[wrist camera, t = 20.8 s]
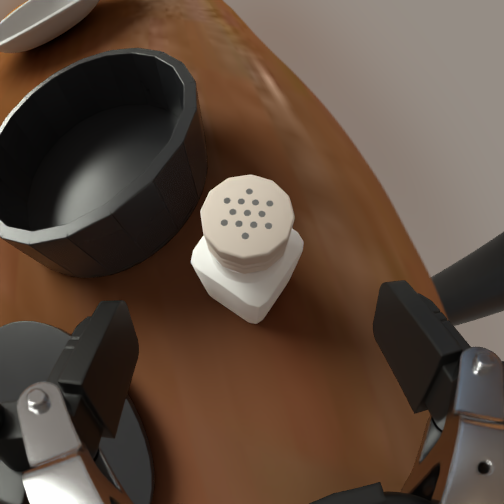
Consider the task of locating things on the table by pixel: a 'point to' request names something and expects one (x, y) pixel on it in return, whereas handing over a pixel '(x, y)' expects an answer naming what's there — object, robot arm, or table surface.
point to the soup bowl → (41, 22)
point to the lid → (38, 370)
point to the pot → (102, 162)
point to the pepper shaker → (247, 245)
